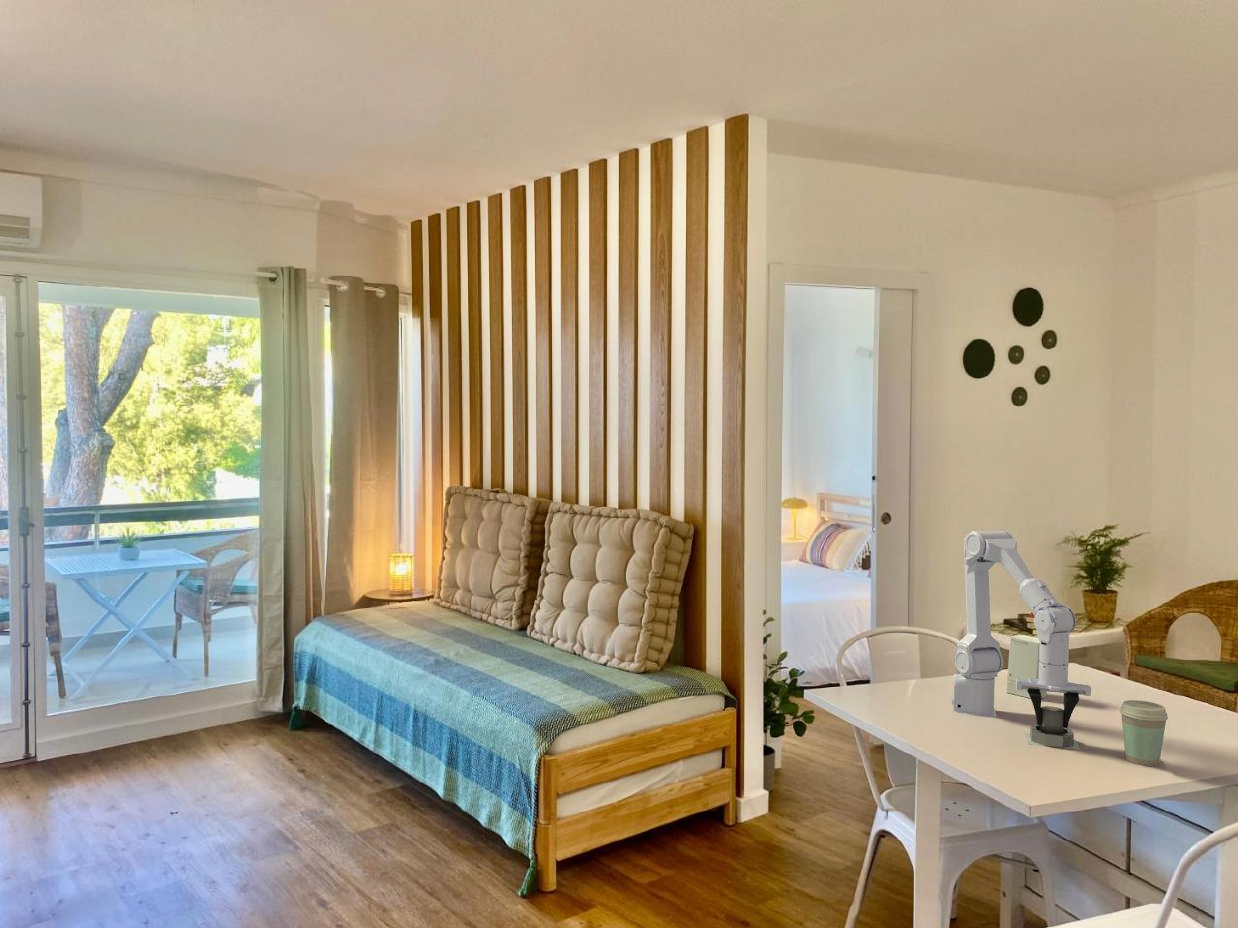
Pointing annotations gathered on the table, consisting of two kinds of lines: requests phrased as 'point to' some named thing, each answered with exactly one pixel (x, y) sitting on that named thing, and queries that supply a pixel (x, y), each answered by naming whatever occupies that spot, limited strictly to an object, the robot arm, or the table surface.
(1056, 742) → the octagonal ring mount
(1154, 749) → the coffee cup
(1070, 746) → the plate
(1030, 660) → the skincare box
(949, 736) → the table surface
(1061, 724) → the cap
